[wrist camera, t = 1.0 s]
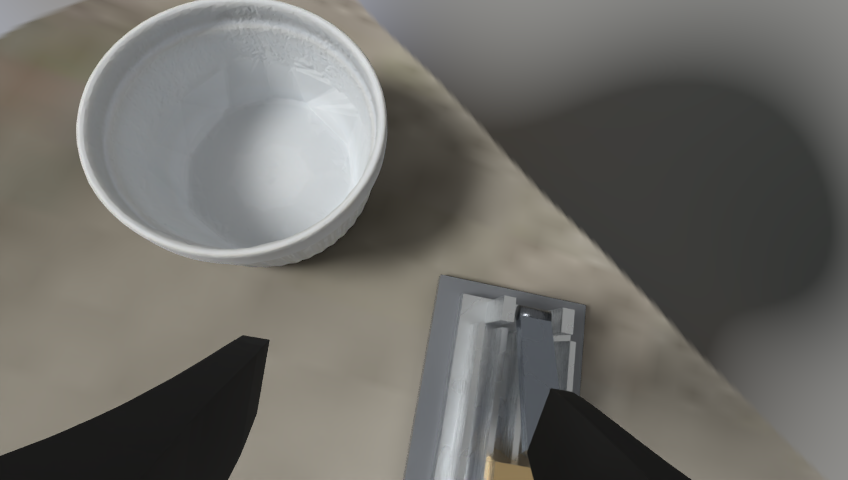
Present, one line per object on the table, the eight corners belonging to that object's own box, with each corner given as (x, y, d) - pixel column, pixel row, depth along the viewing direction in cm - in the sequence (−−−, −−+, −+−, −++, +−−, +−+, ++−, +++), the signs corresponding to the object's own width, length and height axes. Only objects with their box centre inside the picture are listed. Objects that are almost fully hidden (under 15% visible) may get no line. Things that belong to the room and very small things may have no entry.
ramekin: (112, 156, 23) (7, 79, 16) (300, 50, 27) (276, -49, 20) (244, 332, 22) (188, 326, 15) (426, 195, 25) (446, 140, 18)
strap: (559, 459, 16) (568, 455, 15) (521, 453, 16) (529, 448, 15) (544, 316, 20) (550, 308, 20) (514, 309, 20) (520, 301, 20)
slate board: (554, 669, 19) (560, 679, 19) (373, 644, 19) (373, 654, 18) (580, 306, 24) (585, 304, 24) (439, 276, 24) (440, 274, 23)
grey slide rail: (536, 649, 19) (578, 726, 15) (405, 631, 18) (414, 706, 15) (563, 317, 23) (601, 311, 20) (459, 295, 23) (477, 285, 19)
